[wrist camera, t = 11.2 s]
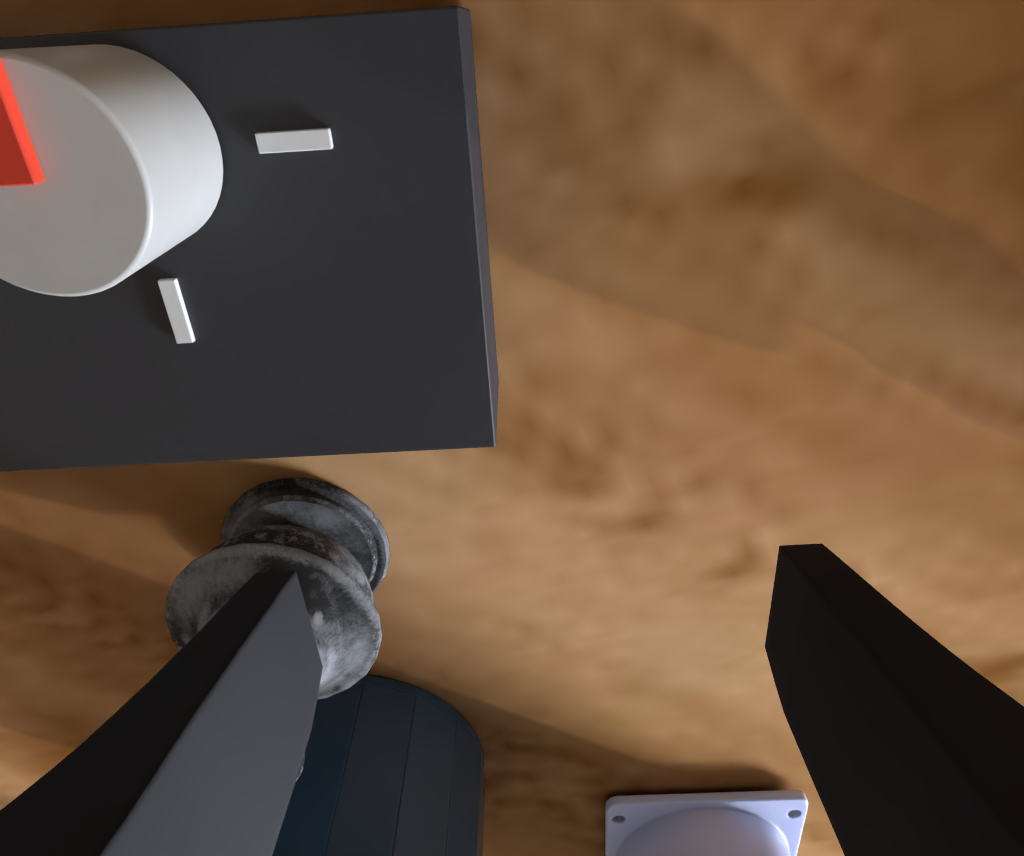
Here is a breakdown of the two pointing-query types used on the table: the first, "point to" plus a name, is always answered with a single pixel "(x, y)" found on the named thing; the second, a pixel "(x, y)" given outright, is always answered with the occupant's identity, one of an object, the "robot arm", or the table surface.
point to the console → (284, 263)
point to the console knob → (97, 166)
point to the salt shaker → (317, 561)
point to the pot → (387, 777)
